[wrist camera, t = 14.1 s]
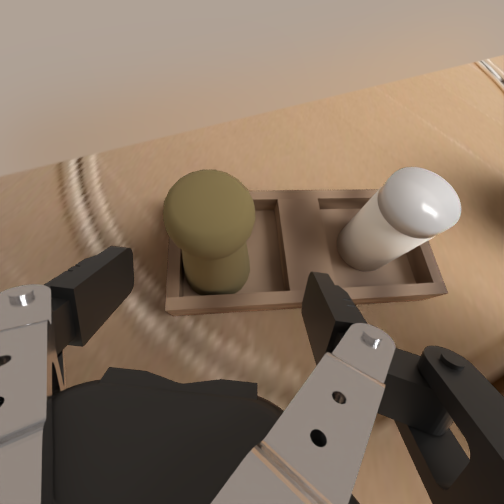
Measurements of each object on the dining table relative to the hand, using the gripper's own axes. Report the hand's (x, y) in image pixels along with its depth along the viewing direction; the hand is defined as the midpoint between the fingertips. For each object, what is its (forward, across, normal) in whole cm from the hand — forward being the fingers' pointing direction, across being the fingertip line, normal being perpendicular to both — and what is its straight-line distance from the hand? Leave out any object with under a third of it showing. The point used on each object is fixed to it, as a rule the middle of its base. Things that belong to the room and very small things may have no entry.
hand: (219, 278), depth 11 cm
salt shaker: (+14, -13, +2) cm, 19 cm away
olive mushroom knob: (+11, +1, +5) cm, 12 cm away
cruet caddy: (+13, -6, +4) cm, 15 cm away
